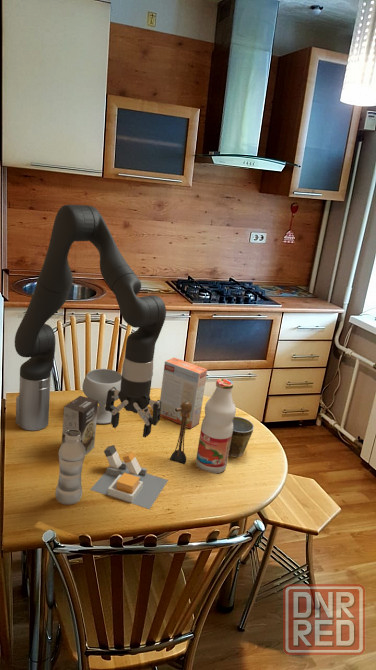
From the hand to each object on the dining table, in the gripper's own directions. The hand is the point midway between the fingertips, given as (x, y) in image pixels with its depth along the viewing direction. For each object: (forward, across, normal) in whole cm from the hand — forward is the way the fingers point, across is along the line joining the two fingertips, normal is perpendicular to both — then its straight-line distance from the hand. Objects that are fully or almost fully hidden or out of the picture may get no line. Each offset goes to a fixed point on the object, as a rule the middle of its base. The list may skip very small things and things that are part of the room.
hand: (130, 431), depth 134 cm
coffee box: (+19, -20, +11) cm, 30 cm away
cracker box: (+19, 0, +46) cm, 50 cm away
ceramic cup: (+19, +21, +36) cm, 46 cm away
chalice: (+19, -24, +34) cm, 46 cm away
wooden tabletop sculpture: (+19, +8, +21) cm, 29 cm away
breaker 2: (+16, +1, +6) cm, 17 cm away
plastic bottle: (+19, -11, -10) cm, 24 cm away
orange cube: (+17, +2, -1) cm, 18 cm away
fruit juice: (+19, +18, +24) cm, 35 cm away
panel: (+19, +1, +2) cm, 19 cm away
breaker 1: (+16, -5, +6) cm, 18 cm away
